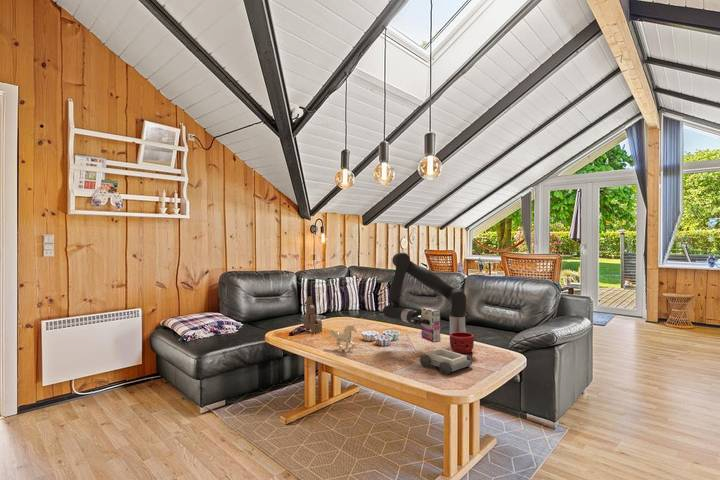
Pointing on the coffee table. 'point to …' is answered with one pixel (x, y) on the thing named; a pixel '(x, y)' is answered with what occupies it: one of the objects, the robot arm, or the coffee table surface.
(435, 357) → the toy car chassis
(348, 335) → the unicorn
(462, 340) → the plant pot
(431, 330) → the candy bar box
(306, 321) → the wooden toy
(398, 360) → the coffee table surface
